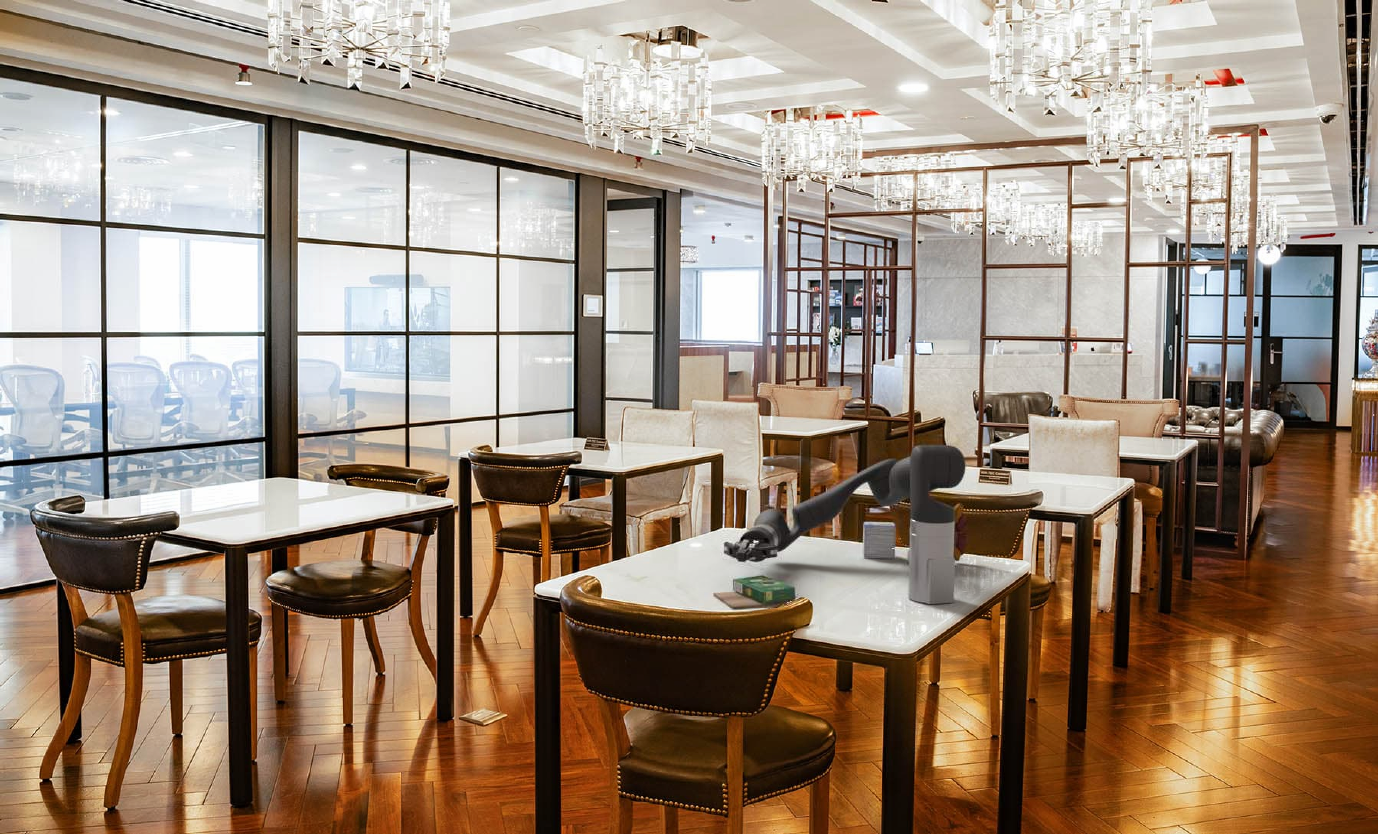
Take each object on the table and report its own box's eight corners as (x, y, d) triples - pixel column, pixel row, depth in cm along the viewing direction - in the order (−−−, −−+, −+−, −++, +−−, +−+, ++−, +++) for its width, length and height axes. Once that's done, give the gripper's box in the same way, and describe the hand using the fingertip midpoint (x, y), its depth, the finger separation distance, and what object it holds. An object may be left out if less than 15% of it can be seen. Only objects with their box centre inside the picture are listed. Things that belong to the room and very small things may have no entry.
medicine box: (893, 555, 278) (894, 522, 278) (895, 559, 274) (896, 525, 273) (862, 554, 279) (863, 521, 279) (863, 558, 275) (864, 524, 274)
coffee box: (731, 591, 237) (764, 605, 225) (731, 578, 236) (764, 591, 225) (762, 587, 240) (796, 600, 229) (762, 574, 240) (796, 586, 229)
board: (804, 603, 228) (804, 601, 228) (732, 609, 223) (732, 606, 223) (781, 590, 240) (781, 588, 240) (713, 595, 235) (713, 593, 235)
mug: (897, 562, 271) (899, 502, 269) (953, 558, 276) (955, 499, 275) (921, 571, 260) (923, 509, 259) (979, 566, 266) (981, 506, 265)
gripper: (786, 560, 251) (770, 576, 234) (731, 556, 255) (711, 571, 238) (787, 528, 250) (771, 542, 234) (731, 524, 254) (711, 538, 238)
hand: (740, 557), depth 236 cm, fingers closed
